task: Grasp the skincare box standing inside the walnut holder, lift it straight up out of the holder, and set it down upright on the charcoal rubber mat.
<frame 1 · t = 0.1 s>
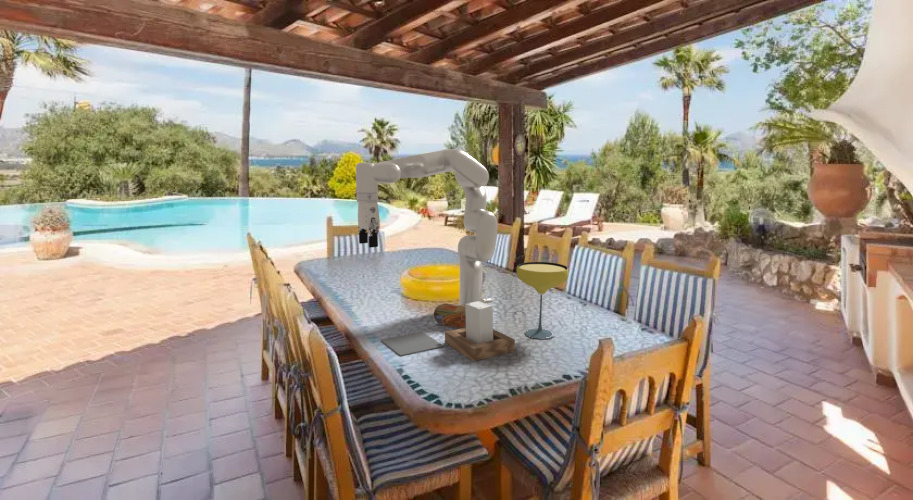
hand: (368, 245, 172), 31 cm above the table, tool pointing down, fingers open, 9 cm apart
cocktail glass: (539, 334, 172), on the table
mat: (411, 343, 161), on the table
tin: (453, 326, 180), on the table
holder: (478, 347, 159), on the table
skincare box: (478, 347, 159), resting in holder
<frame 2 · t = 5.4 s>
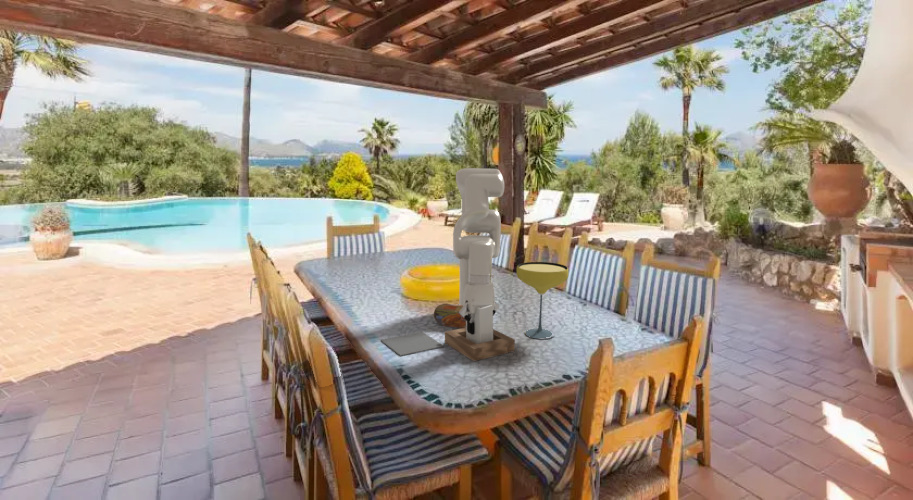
hand: (479, 331, 158), 6 cm above the table, tool pointing down, fingers closed on skincare box, 5 cm apart
skincare box: (478, 347, 159), resting in holder, touching gripper
everything else where it was.
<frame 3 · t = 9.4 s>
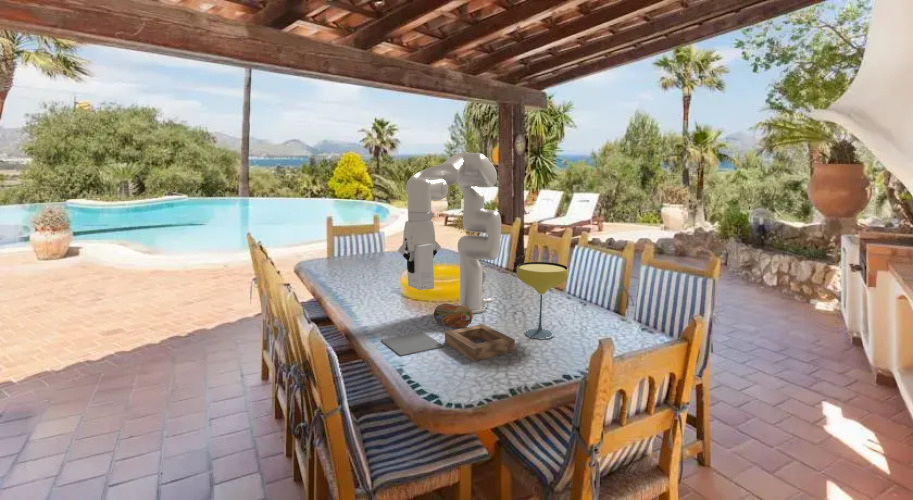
hand: (419, 270, 157), 25 cm above the table, tool pointing down, fingers closed on skincare box, 5 cm apart
skincare box: (420, 287, 158), point 20 cm above the table, touching gripper
everything else where it was.
when the fingers open (7 cm above the table, at t = 13.6 s): skincare box drops 1 cm, resting on mat.
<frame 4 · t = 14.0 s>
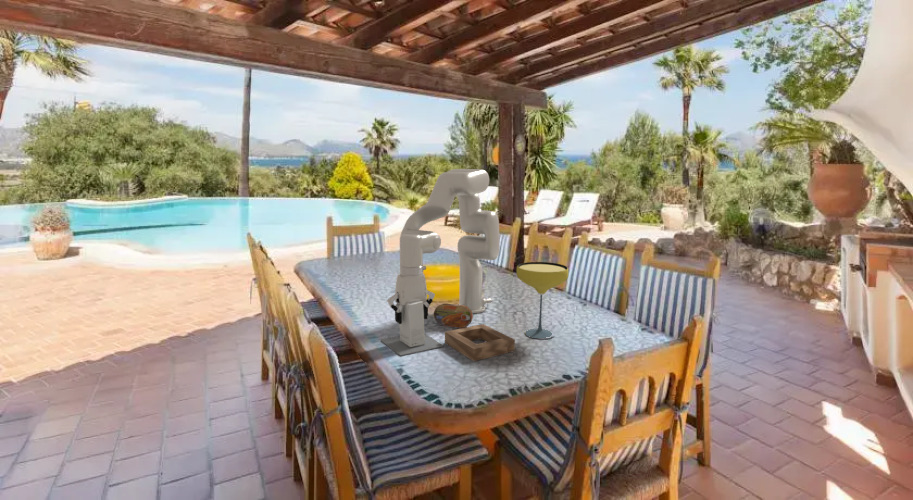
hand: (411, 320, 160), 8 cm above the table, tool pointing down, fingers open, 9 cm apart
skincare box: (411, 343, 161), resting on mat
everything else where it was.
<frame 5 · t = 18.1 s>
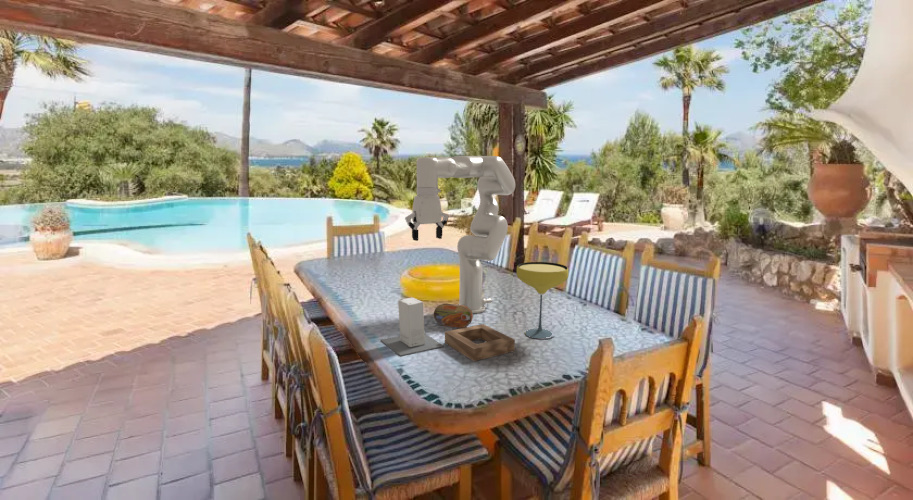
hand: (427, 239, 173), 33 cm above the table, tool pointing down, fingers open, 9 cm apart
nothing on the table moved.
at the end: skincare box inside the target area on the mat (0.1 cm from its centre), point 0.2 cm above the mat's base; skincare box tilted 0°; the gripper is holding nothing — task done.
